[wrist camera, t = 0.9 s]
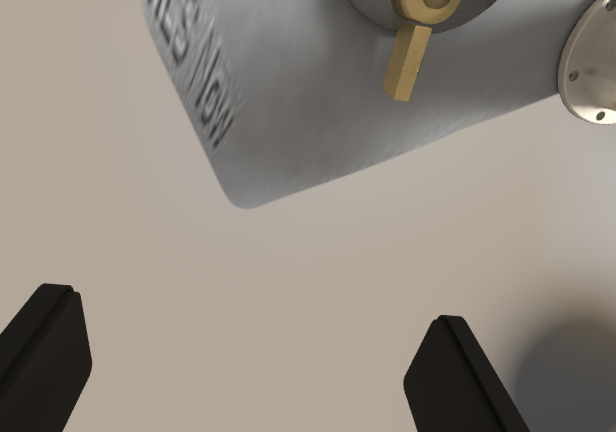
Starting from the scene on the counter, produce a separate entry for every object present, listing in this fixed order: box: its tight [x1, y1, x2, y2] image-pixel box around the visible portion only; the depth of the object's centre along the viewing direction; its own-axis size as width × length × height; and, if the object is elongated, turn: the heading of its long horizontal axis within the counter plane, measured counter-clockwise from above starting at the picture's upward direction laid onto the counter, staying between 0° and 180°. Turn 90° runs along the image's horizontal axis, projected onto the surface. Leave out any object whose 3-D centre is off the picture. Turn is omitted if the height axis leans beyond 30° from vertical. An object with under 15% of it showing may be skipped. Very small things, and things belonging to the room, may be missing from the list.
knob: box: [382, 0, 460, 102], centre depth 26 cm, size 9×4×5 cm, turn 169°
